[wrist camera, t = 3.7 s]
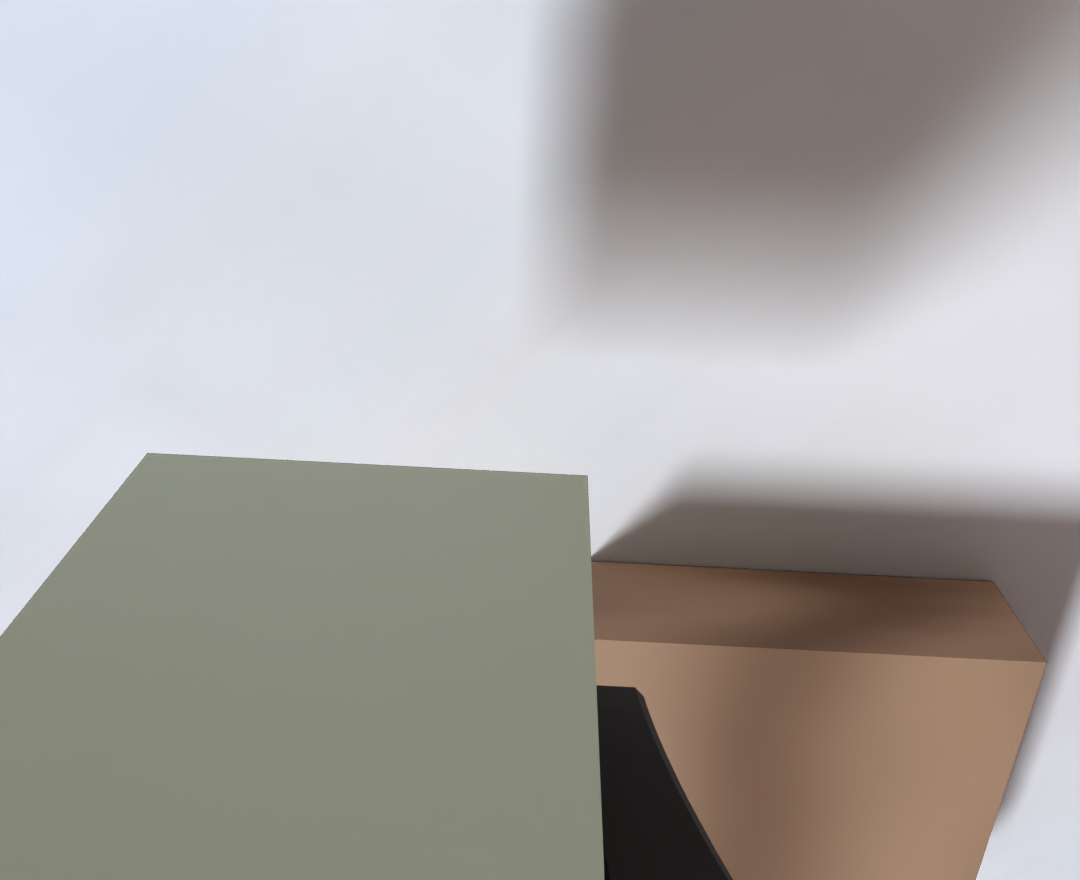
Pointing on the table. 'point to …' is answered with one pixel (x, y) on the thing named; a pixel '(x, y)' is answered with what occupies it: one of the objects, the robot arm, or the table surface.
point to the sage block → (309, 680)
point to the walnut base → (826, 711)
